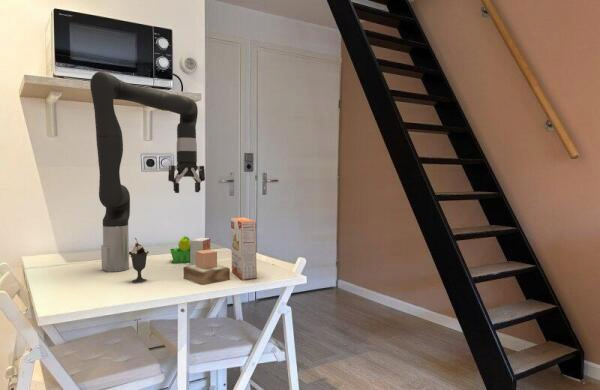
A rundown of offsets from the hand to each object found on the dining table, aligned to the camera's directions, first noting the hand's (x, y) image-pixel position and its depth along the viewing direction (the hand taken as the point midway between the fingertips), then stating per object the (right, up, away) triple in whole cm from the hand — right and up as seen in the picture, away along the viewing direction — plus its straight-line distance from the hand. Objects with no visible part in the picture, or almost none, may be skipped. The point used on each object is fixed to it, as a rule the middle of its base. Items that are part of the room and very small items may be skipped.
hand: (187, 192), depth 170 cm
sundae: (-13, -31, -16) cm, 37 cm away
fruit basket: (-6, -30, +18) cm, 35 cm away
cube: (+10, -27, -12) cm, 31 cm away
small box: (+3, -30, +12) cm, 32 cm away
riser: (+10, -31, -12) cm, 35 cm away
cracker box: (+23, -31, -7) cm, 39 cm away
